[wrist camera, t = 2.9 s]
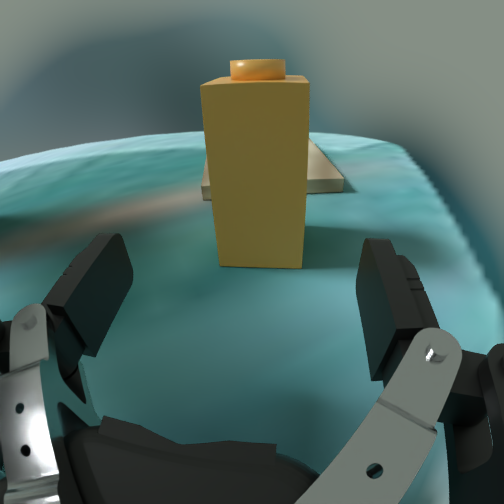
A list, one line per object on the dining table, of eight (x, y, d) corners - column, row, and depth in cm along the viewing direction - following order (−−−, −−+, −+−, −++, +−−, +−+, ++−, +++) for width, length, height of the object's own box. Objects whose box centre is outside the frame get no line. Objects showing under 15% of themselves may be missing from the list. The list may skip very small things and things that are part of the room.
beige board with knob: (203, 200, 29) (196, 146, 26) (210, 148, 43) (207, 112, 40) (342, 191, 30) (347, 140, 27) (305, 143, 44) (305, 108, 40)
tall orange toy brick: (301, 268, 21) (309, 60, 13) (219, 266, 21) (198, 64, 13) (299, 224, 25) (302, 59, 17) (232, 223, 26) (219, 61, 18)
